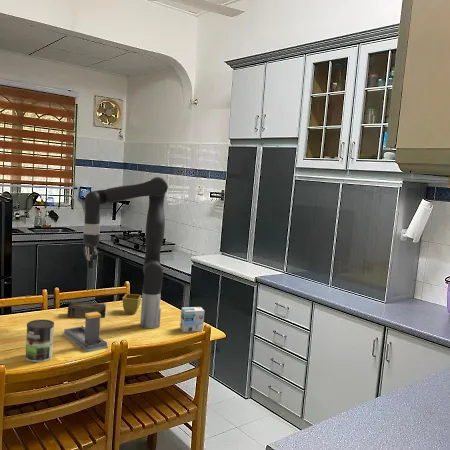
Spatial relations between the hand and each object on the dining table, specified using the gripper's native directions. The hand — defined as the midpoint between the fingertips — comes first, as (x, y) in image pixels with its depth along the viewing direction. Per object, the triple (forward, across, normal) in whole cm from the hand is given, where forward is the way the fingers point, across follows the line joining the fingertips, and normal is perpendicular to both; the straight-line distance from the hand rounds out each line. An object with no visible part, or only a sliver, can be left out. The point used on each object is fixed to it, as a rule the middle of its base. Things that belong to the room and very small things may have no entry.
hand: (89, 267), depth 223 cm
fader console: (+29, +18, -10) cm, 36 cm away
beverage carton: (+30, -14, +7) cm, 33 cm away
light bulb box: (+29, +30, +42) cm, 59 cm away
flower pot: (+29, -8, +30) cm, 42 cm away
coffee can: (+29, +25, -33) cm, 51 cm away
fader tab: (+28, +25, -10) cm, 39 cm away
